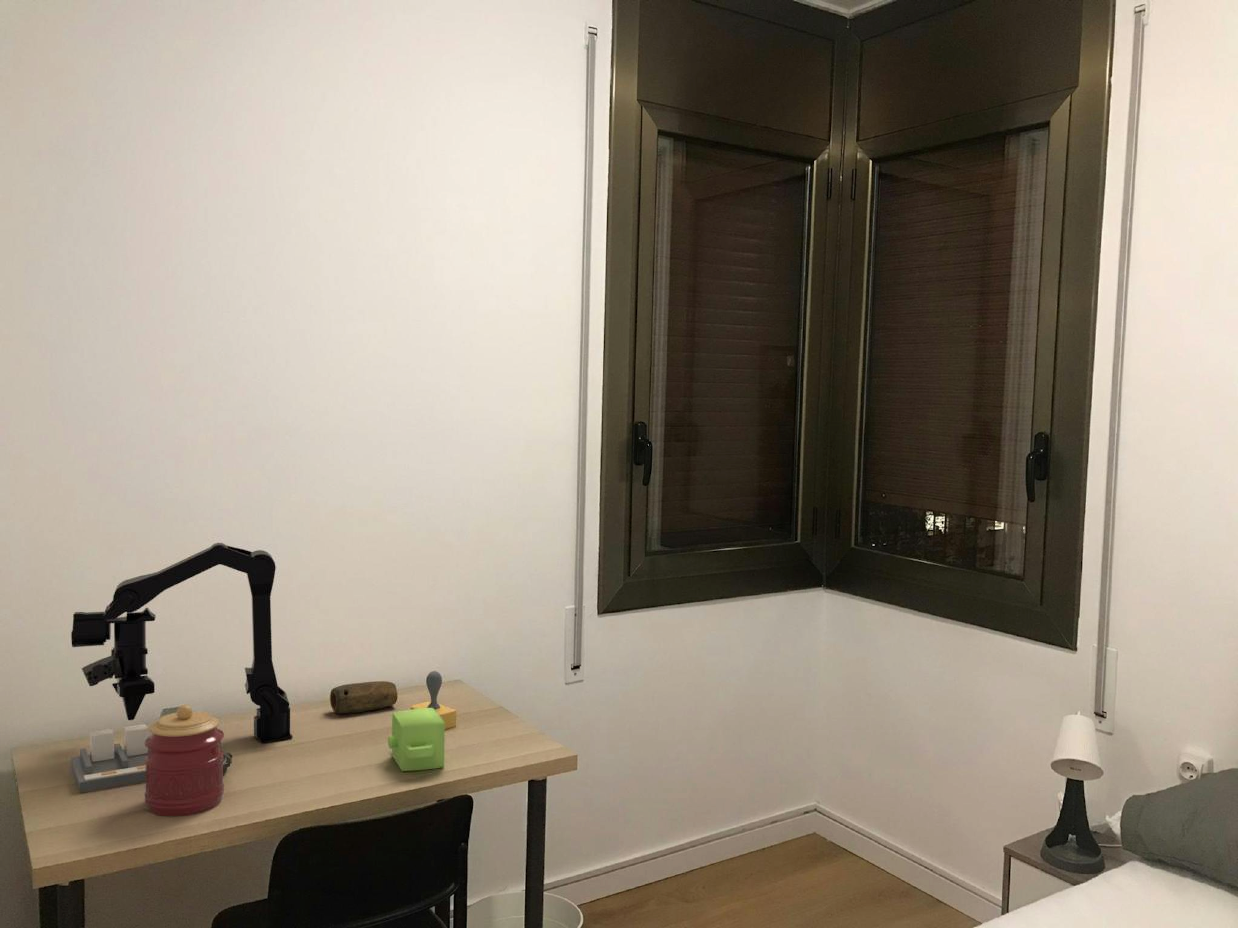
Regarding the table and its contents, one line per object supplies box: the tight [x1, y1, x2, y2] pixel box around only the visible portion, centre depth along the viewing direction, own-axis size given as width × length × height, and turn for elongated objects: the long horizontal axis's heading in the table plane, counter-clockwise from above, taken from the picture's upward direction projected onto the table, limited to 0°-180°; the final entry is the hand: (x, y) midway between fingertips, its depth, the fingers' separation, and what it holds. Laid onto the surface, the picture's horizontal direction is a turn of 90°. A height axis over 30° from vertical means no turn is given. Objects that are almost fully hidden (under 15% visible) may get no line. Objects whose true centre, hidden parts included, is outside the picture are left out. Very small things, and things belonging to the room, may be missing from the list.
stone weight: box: [329, 680, 398, 715], centre depth 237 cm, size 15×7×7 cm, turn 129°
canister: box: [144, 704, 225, 817], centre depth 180 cm, size 13×13×18 cm
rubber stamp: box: [410, 670, 457, 730], centre depth 228 cm, size 10×6×12 cm, turn 46°
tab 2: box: [123, 723, 149, 757], centre depth 199 cm, size 4×3×5 cm
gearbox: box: [387, 708, 446, 772], centre depth 204 cm, size 18×10×10 cm, turn 23°
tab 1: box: [89, 728, 115, 762], centre depth 196 cm, size 4×3×5 cm
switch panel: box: [70, 743, 148, 794], centre depth 194 cm, size 16×15×4 cm
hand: (130, 719), depth 205 cm, fingers closed
